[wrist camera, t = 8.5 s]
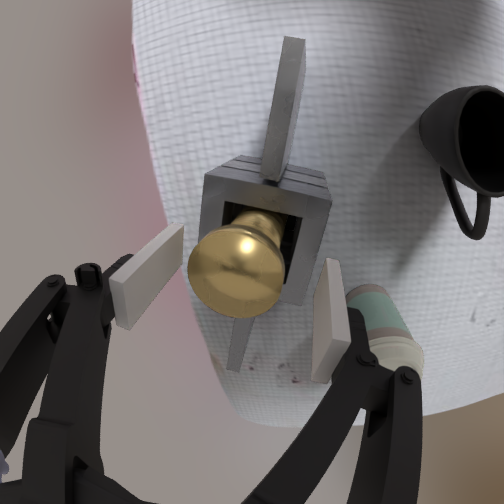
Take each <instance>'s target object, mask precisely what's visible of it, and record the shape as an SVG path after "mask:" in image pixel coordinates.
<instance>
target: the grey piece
mask: <svg viewBox="0 0 504 504" xmlns="http://www.w3.org/2000/svg"><path fill="white" fill-rule="evenodd" d="M305 73H306V47H305V39H300V38H294V37H288V36H284V41H283V46H282V52H281V57H280V63H279V68H278V74H277V79H276V85H275V90H274V96H273V101H272V107H271V112H270V118H269V124H268V129H267V135H266V141H265V146H264V152H263V157H262V163H261V165H257V164H252V163H247V162H241V161H236V160H230V161H228V162H226V163H224V164H222V165H221V167H226V168H232V169H238V170H243V171H248V172H254V173H259V174H260V175H259V177H260V178H265V179H269V180H274V181H279V180H280V178H283V179H287V180H292V181H296V182H301V183H305V184H309V185H313V186H317V187H322V188H326V189H328V185H327V182H326V180H325V179H321V178H317V177H313V176H309V175H305V174H300V173H296V172H291V171H287V170H284V169H285V167H286V165H287V163H288V161H289V157H290V152H291V147H292V142H293V137H294V132H295V127H296V121H297V116H298V111H299V105H300V100H301V95H302V89H303V84H304V78H305ZM241 208H242V204H239V203H234V206H233V213H232V220H231V223H232V222H233V221H234V219H235V218H236V217H237V216H238V215H239V213H240V212H241ZM299 222H300V217H298V221H297V225H296V229H295V233H294V238H293V242H292V245H288V244H284V243H281V244H280V248H279V250H280V252H281V254H282V256H283V260H284V263H287V264H289V261H290V258H291V254H292V250H293V246H294V242H295V238H296V234H297V230H298V226H299Z"/></svg>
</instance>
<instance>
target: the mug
mask: <svg viewBox="0 0 504 504" xmlns="http://www.w3.org/2000/svg"><path fill="white" fill-rule="evenodd" d="M419 131H420V137H421V140H422V142H423V145H424V146H425V148H426V149H427V151H429V153H430V154H431V155H432V157H433V158H434V159H435V161H436V162H437V163H438V164H439V165H440V172H441V177H442V181H443V184H444V187H445V189H446V192H447V195H448V197H449V200H450V203H451V206H452V208H453V211H454V214H455V217H456V219H457V222H458V224H459V226H460V228H461V230H462V232H463V233H464V234H465V235H466V236H468V237H469V238H471V239H474V240H480V239H481V238H483V236H484V235H485V232H486V229H487V226H488V221H489V215H490V205H491V197H495V198H498V197H502V196H504V93H503V92H502V91H500V90H498V89H497V88H494V87H491V86H488V85H480V86H470V87H463V88H458V89H455V90H453V91H450V92H448V93H446V94H444V95H442V96H441V97H439V98H438V99H437V100H436V101H435V102H433V103H432V104H431V105H430V106H429V108H428V109H427V110H425V112H424V113H423V115H422V117H421V120H420V125H419ZM454 178H455V179H456V180H457V181H459V182H460V183H462V184H464V185H465V186H467V187H469V188H471V189H473V190H474V191H476V192H477V210H476V218H475V223H474V227H473V225H472V224H471V222H470V220H469V218H468V215H467V213H466V210H465V208H464V205H463V203H462V200H461V198H460V195H459V193H458V190H457V187H456V184H455V180H454Z"/></svg>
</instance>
